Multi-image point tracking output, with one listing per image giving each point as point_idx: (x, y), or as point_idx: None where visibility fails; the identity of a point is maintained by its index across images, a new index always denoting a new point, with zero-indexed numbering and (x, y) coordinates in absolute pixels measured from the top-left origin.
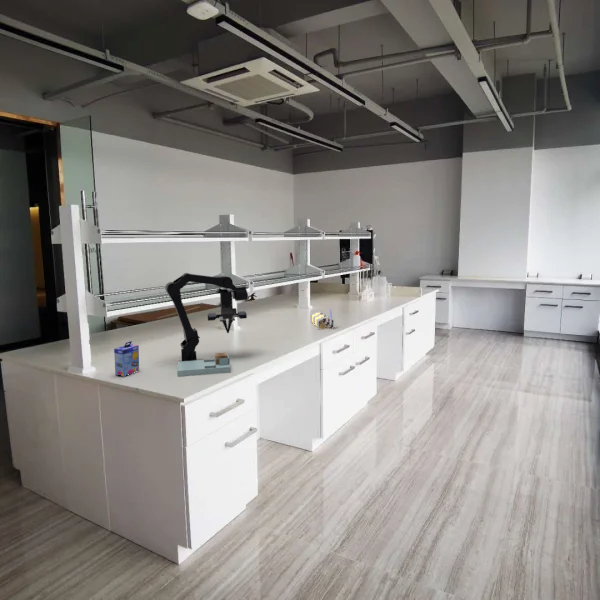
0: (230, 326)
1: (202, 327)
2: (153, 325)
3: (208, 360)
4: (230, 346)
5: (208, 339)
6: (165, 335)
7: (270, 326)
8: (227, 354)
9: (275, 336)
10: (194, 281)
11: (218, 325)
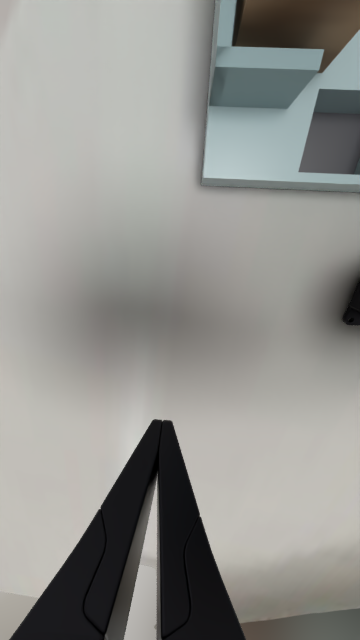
0: (96, 514)
1: None
2: (301, 604)
3: (339, 176)
4: None
5: (210, 516)
6: (308, 561)
7: (40, 552)
8: (226, 22)
9: (10, 492)
10: None
11: None
